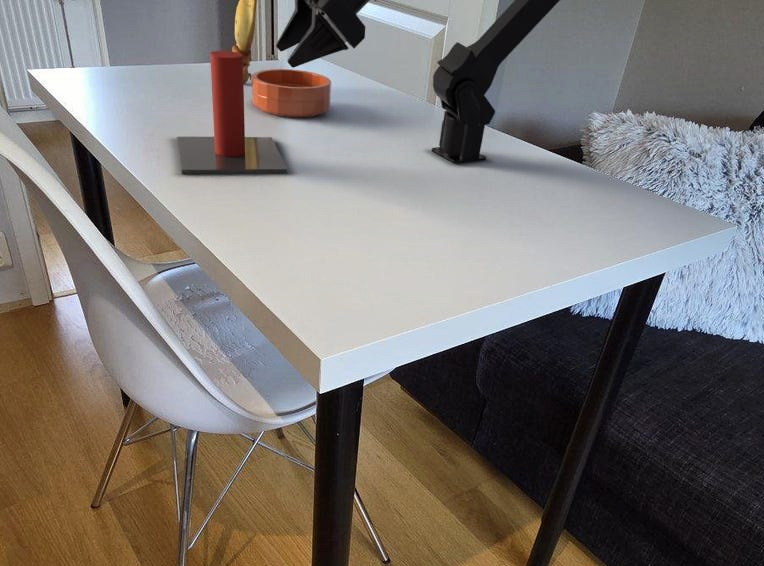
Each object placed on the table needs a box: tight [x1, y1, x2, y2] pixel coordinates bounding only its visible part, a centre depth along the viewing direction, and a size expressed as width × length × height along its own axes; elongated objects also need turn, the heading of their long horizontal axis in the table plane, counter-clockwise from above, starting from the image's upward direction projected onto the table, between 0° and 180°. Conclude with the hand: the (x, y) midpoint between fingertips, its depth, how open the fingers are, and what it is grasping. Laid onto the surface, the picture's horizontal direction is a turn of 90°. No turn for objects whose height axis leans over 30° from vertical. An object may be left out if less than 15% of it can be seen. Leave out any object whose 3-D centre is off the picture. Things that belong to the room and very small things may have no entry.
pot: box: [251, 68, 332, 118], centre depth 117 cm, size 14×14×5 cm
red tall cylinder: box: [209, 50, 246, 157], centre depth 91 cm, size 4×4×13 cm
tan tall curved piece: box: [231, 0, 258, 85], centre depth 123 cm, size 7×5×20 cm
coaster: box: [176, 136, 288, 175], centre depth 95 cm, size 14×14×1 cm
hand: (283, 56), depth 89 cm, fingers open, 9 cm apart
